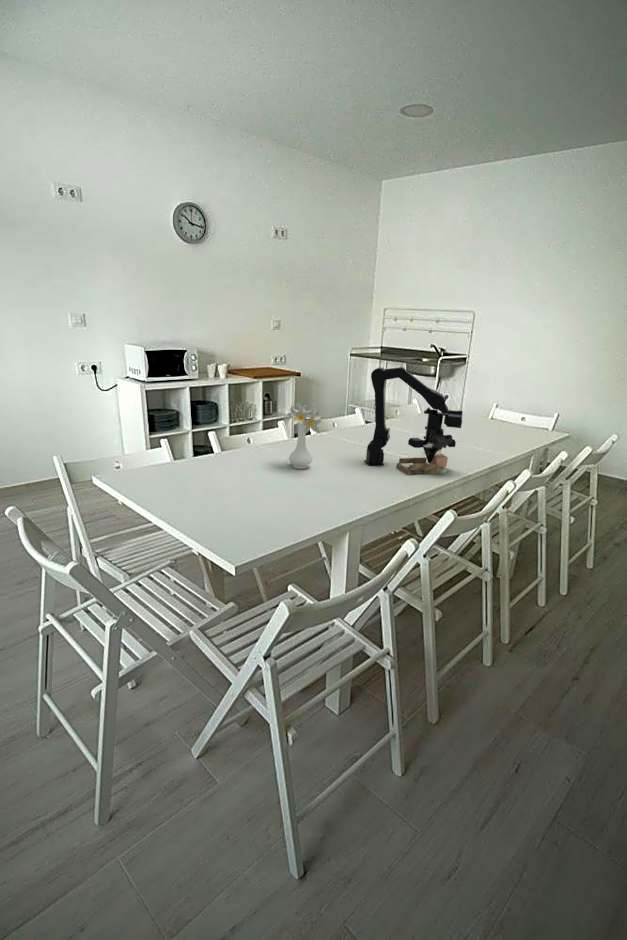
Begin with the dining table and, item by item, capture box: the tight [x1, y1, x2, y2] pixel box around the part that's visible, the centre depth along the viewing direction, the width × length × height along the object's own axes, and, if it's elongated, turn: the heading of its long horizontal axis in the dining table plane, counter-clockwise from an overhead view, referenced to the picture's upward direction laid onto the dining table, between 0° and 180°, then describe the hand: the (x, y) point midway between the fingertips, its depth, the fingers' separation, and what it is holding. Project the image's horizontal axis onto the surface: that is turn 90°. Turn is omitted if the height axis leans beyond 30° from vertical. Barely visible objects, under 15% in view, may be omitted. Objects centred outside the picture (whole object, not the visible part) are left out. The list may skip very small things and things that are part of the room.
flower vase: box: [285, 402, 322, 470], centre depth 191 cm, size 13×18×25 cm
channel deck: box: [396, 456, 448, 476], centre depth 197 cm, size 18×10×4 cm, turn 107°
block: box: [429, 453, 448, 468], centre depth 199 cm, size 5×5×4 cm
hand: (429, 462), depth 198 cm, fingers closed
